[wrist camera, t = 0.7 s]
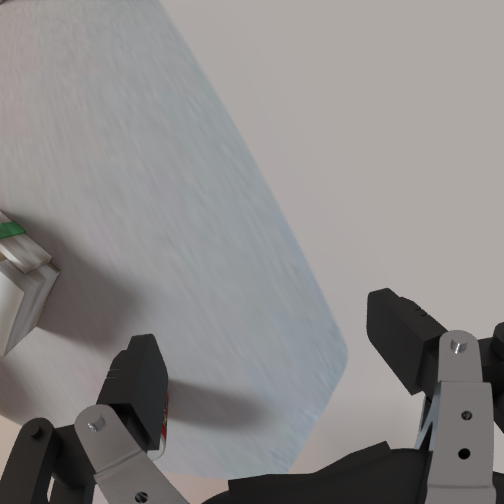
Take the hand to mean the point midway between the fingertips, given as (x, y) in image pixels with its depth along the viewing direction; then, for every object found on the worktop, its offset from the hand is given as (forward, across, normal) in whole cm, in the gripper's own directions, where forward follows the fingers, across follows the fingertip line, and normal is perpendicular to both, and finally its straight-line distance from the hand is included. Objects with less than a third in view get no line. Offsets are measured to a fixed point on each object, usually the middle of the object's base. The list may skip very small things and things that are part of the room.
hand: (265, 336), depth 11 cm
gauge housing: (+24, +32, 0) cm, 41 cm away
